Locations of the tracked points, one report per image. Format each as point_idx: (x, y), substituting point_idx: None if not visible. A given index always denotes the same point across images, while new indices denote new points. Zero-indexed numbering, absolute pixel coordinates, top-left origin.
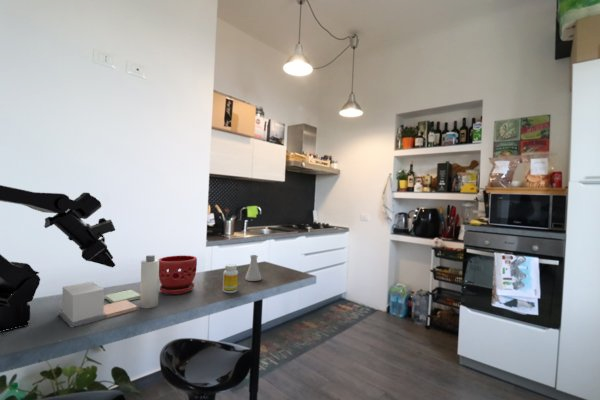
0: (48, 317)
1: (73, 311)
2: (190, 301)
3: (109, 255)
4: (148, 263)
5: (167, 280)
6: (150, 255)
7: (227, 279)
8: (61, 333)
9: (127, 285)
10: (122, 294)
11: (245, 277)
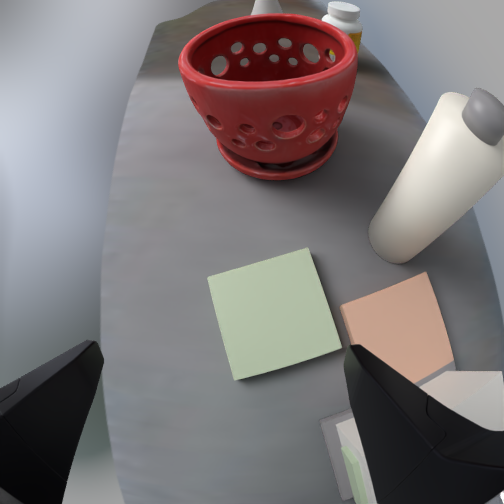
0: None
1: None
2: (393, 136)
3: (81, 369)
4: None
5: (331, 134)
6: (484, 101)
7: (357, 41)
8: None
9: (111, 282)
10: (260, 315)
11: None
